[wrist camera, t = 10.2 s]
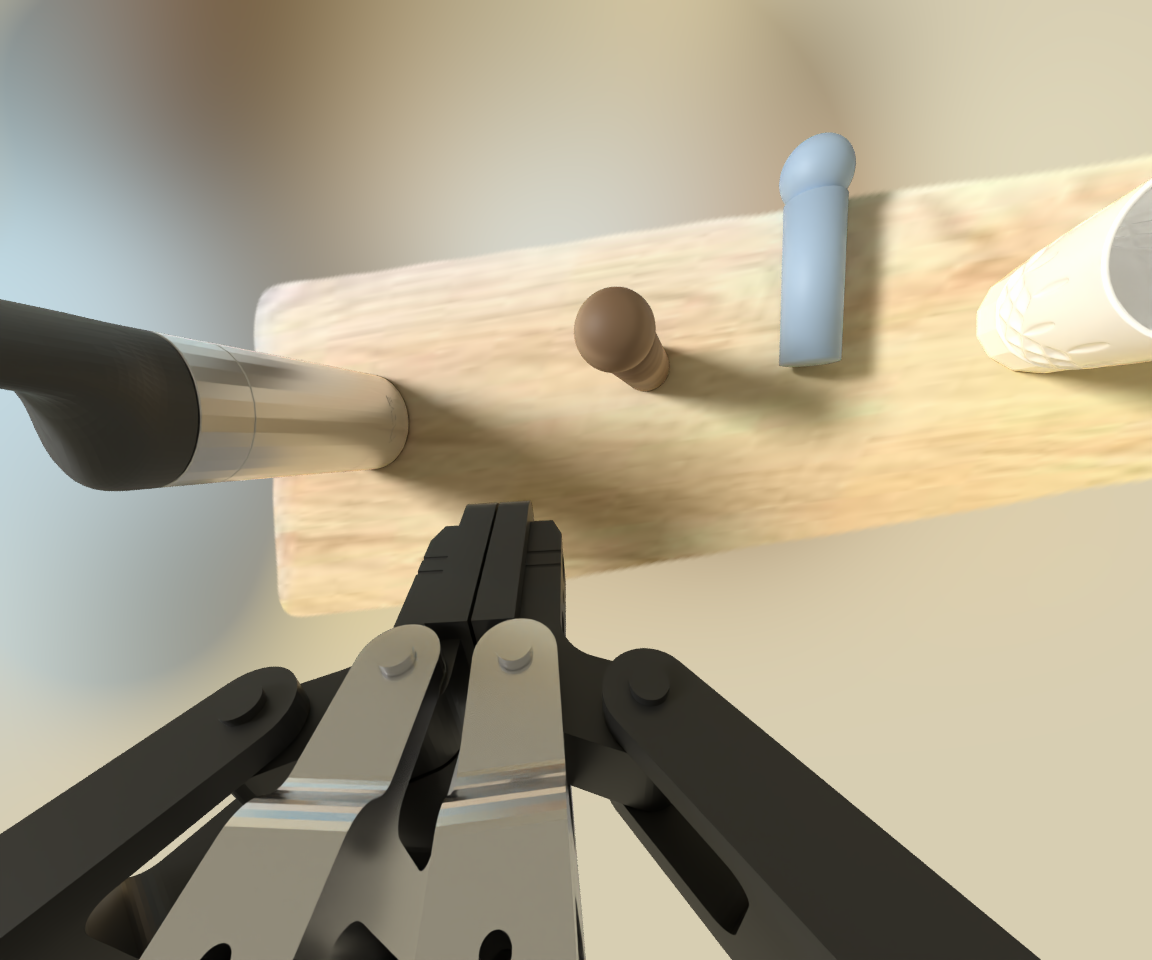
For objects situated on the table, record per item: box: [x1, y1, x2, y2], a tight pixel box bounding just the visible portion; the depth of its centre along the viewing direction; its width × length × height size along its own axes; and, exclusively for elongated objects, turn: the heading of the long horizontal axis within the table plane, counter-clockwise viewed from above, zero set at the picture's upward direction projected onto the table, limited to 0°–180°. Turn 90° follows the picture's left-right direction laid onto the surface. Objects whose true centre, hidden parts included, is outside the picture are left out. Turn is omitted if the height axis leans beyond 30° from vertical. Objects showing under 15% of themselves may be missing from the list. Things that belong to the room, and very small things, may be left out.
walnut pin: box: [574, 287, 670, 391], centre depth 26 cm, size 4×4×14 cm
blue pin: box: [779, 133, 856, 367], centre depth 27 cm, size 4×4×14 cm
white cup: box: [976, 178, 1152, 373], centre depth 21 cm, size 8×8×10 cm
